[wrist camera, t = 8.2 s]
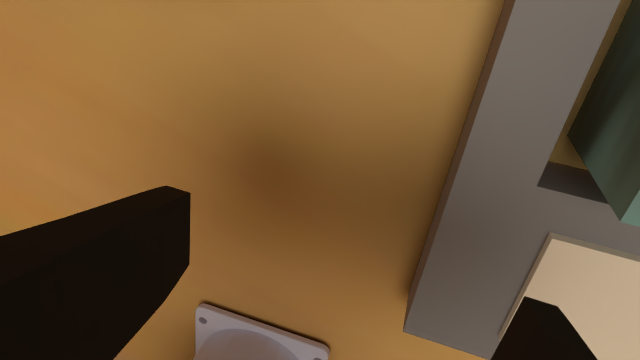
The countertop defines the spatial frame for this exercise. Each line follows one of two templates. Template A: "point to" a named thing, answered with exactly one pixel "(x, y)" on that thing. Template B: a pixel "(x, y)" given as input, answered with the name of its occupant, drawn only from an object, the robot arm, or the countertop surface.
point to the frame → (528, 200)
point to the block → (615, 122)
